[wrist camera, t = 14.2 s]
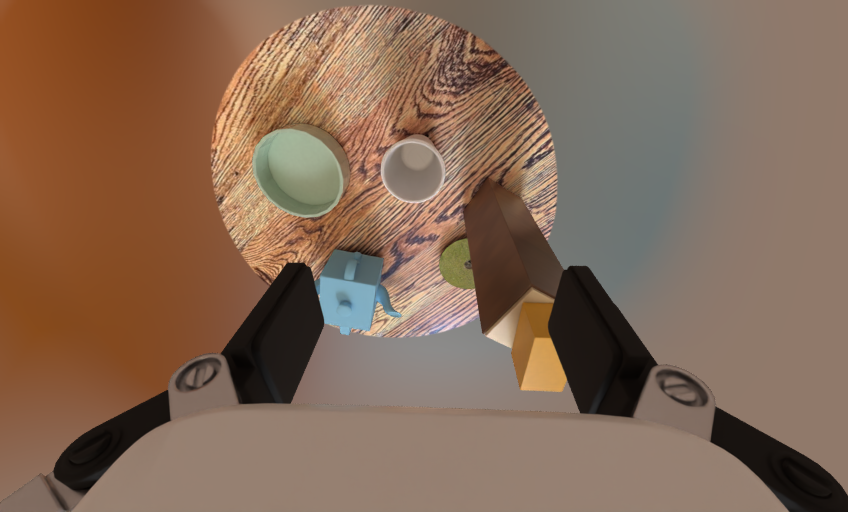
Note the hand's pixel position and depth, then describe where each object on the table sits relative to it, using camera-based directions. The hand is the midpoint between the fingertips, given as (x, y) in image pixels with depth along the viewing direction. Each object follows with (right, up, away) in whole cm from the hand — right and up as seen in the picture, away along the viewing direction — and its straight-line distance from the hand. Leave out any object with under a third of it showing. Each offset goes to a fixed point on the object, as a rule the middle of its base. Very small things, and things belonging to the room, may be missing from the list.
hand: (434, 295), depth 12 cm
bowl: (-19, +16, +38) cm, 46 cm away
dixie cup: (-1, +18, +36) cm, 40 cm away
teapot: (-13, -2, +49) cm, 51 cm away
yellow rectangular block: (+10, -5, +16) cm, 20 cm away
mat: (+8, +1, +47) cm, 47 cm away
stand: (+11, +10, +40) cm, 43 cm away
